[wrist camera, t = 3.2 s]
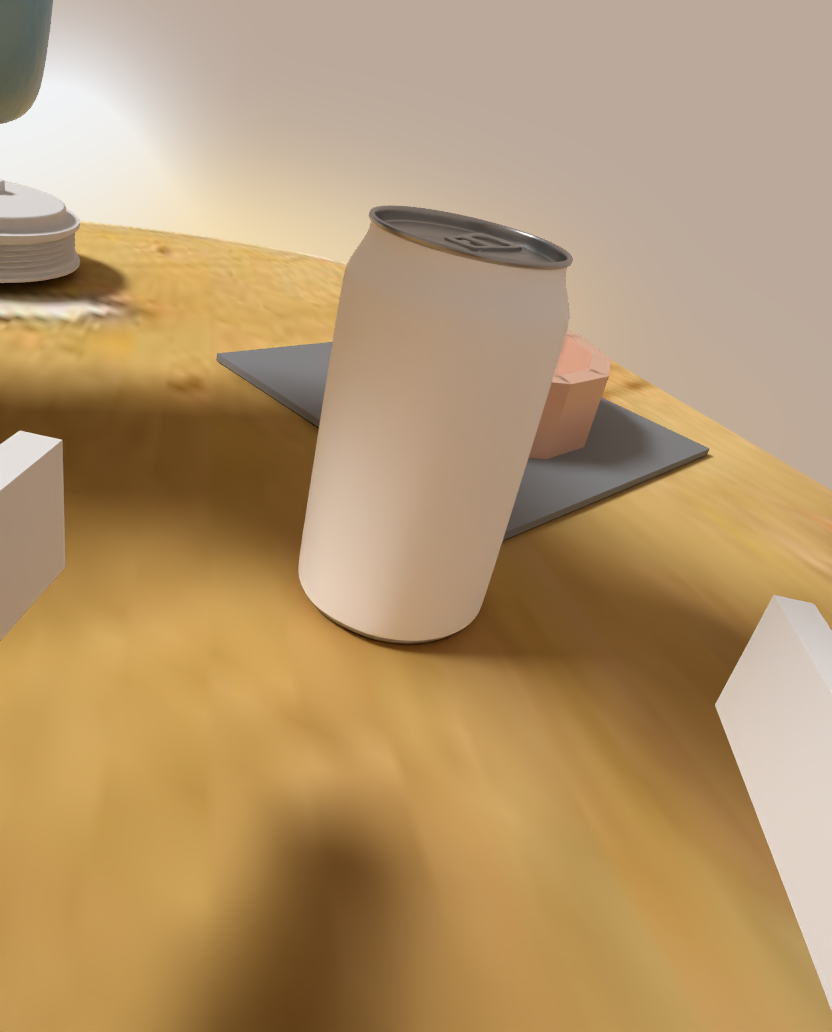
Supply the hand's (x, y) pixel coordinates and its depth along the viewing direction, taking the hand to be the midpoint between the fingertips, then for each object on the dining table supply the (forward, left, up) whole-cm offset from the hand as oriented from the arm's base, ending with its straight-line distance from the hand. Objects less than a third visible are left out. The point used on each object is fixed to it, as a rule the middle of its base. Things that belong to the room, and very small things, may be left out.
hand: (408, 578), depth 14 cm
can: (-6, +8, -7) cm, 13 cm away
